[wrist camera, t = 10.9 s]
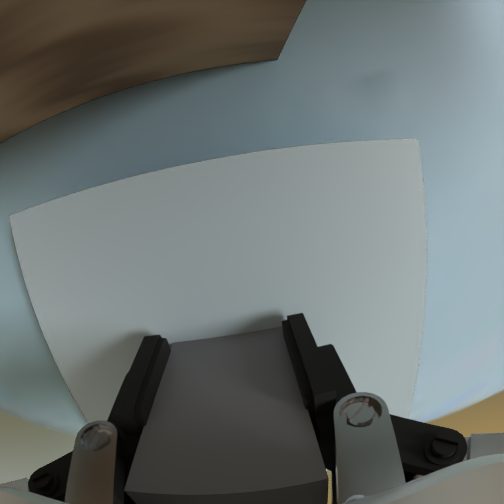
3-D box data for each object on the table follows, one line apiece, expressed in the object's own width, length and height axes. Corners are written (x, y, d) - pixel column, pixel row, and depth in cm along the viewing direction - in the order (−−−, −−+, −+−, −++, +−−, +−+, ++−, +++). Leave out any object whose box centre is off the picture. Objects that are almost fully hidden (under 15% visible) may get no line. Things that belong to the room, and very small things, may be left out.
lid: (390, 143, 11) (564, 121, 3) (387, 424, 15) (444, 527, 7) (38, 209, 11) (-115, 252, 3) (138, 459, 15) (110, 567, 6)
